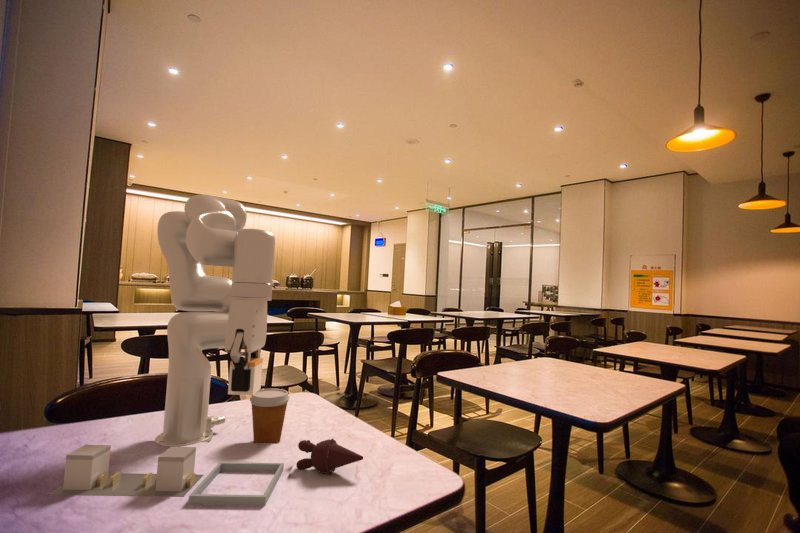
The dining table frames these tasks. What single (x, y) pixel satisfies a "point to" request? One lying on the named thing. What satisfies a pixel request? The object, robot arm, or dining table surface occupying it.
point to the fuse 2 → (175, 468)
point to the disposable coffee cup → (268, 414)
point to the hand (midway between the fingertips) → (245, 386)
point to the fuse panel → (128, 486)
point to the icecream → (326, 456)
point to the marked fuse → (254, 377)
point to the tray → (251, 500)
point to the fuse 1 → (86, 466)
